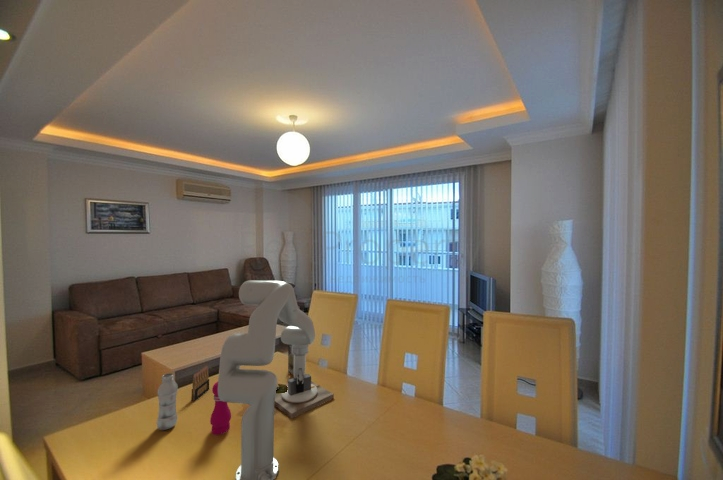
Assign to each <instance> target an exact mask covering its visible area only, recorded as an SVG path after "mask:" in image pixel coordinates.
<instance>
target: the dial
mask: <svg viewBox="0 0 723 480" xmlns="http://www.w3.org/2000/svg"><path fill="white" fill-rule="evenodd" d="M298 380H299V378H298ZM311 381H312V376H311V375H310V374H309V373H307V374H306V373H305V376H304V377H303V383H304V392H301V393H296V384H297V377H296V378H294V377H293V378H289V379H287V385H288V386H287V387H288V390H287V392H285V393H282V398H283V399H284V400H285V401H288V402H292V403H301V402H306V401H309V400H311V399H313V398H314V397H315V396H316V395H317V387H316V386H315V385H313V384H311Z"/></svg>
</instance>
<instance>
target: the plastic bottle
mask: <svg viewBox="0 0 723 480" xmlns="http://www.w3.org/2000/svg"><path fill="white" fill-rule="evenodd" d="M174 378H175V377H174V373H173V372H168V373H166V374H163V375H162V376H161V382H162V383H161V384H160V385H159V387H158V388H157V398H158V413H157V414H158V416H157V418H156V419H157V421H156V427H157V429H158V430H159V431H166V430H169V429H172V428H173V427H174V426H175V425H176V424H177V422H178V413H177V408H176V407H177V402H176V401H177V395H178V388H179V385H178V383H177V382H176V381H175V380H174Z"/></svg>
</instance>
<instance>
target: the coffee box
mask: <svg viewBox="0 0 723 480" xmlns="http://www.w3.org/2000/svg"><path fill="white" fill-rule="evenodd" d="M287 345H288V347H287V354H288V357H287V362H288V363H287V364H288V365H287V371H288V372H289V373H290V374H291V375H292V376H294V355H293V354H292V345H291V344H287Z"/></svg>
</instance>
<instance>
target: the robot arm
mask: <svg viewBox="0 0 723 480" xmlns="http://www.w3.org/2000/svg"><path fill="white" fill-rule="evenodd" d="M238 298H239V300H240V302H241V303H242V304H243V305H245V306H257V307H256V308H255V309H254V310H253V312H252V313H251V314H250V316H249V321H248V326H247V327H248V328H247V333H245V332H244V333H241V332H240V333H239V332H237V333H232V334H231V335H228V337H227V338H226V339H225V341H224V342H223V345H222V347H221V351H220V357H219V359H220V360H219V368H218V369H219V370H218V379H217V382H218V396H219V399H220V400H221V401H223V402H227V403H230V404H231V403H232V404H243V405H244V404H245V405H249V406H248V408H247V409H246V410H245V411H244V413H243V414H242V417H241V423H240V424H241V425H240V426H241V428H240V429H241V432H240V434H241V436H240V438H241V439H240V440H241V441H240V449H241V450H240V465H239V466H238V468H237V469H236V472H235V477H234V479H235V480H275V479H276V478H277V475H278V473H279V469H280V468H279V466H280V465H279V462H278V460H277V459H276V457H274V456H275V455H274V451H275V449H274V447H275V446H274V445H275V443H274V442H275V440H274V439H275V438H274V437H275V433H274V432H275V423H274V422H275V405H274V403H275V396H276V390H277V389H278V376H277V375H276V373H274V372H272V371H270V370H267V369H257V368H256V369H255V368H254V369H253V368H251V369H250V368H249V369H248V368H241V367H240V366H244V367H245V366H250V367H265V366H268V365H269V364H271V363H272V362H273V359H274V357H275V350H276V340H277V339H276V338H277V337H276V335H277V324H278V323H277V322H278V320H279V321H281V322H283V324H286V325H288V326H286V327H284V328H283V329H282V331H281V333H280V340H281V342H282V343H283V344H285V345H288V344H291V345H292V354H293V355H294V375H293V378H296V377H297V384H296V393H301V392H304V383H303V377H304V376H305V375H306V362H307V361H306V358H307V357H306V355H308V353H309V345H312V344H313V343H314V342H315V339H316V331H315V326H314V321H313V320H312V318H311V317H310V316H309V315H308V314H306V313H305V312H304V311H303V310H301V309H300V308H299V305H298V301H297V297H296V294H295V289H294V287H293V285H292V284H290V283H289V282H286V281H284V280H283V281H282V280H255V279H254V280H252V279H251V280H246V281H244V282H243V283H242V284H241V285H240V286H239V290H238ZM298 378H299V380H298Z"/></svg>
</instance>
